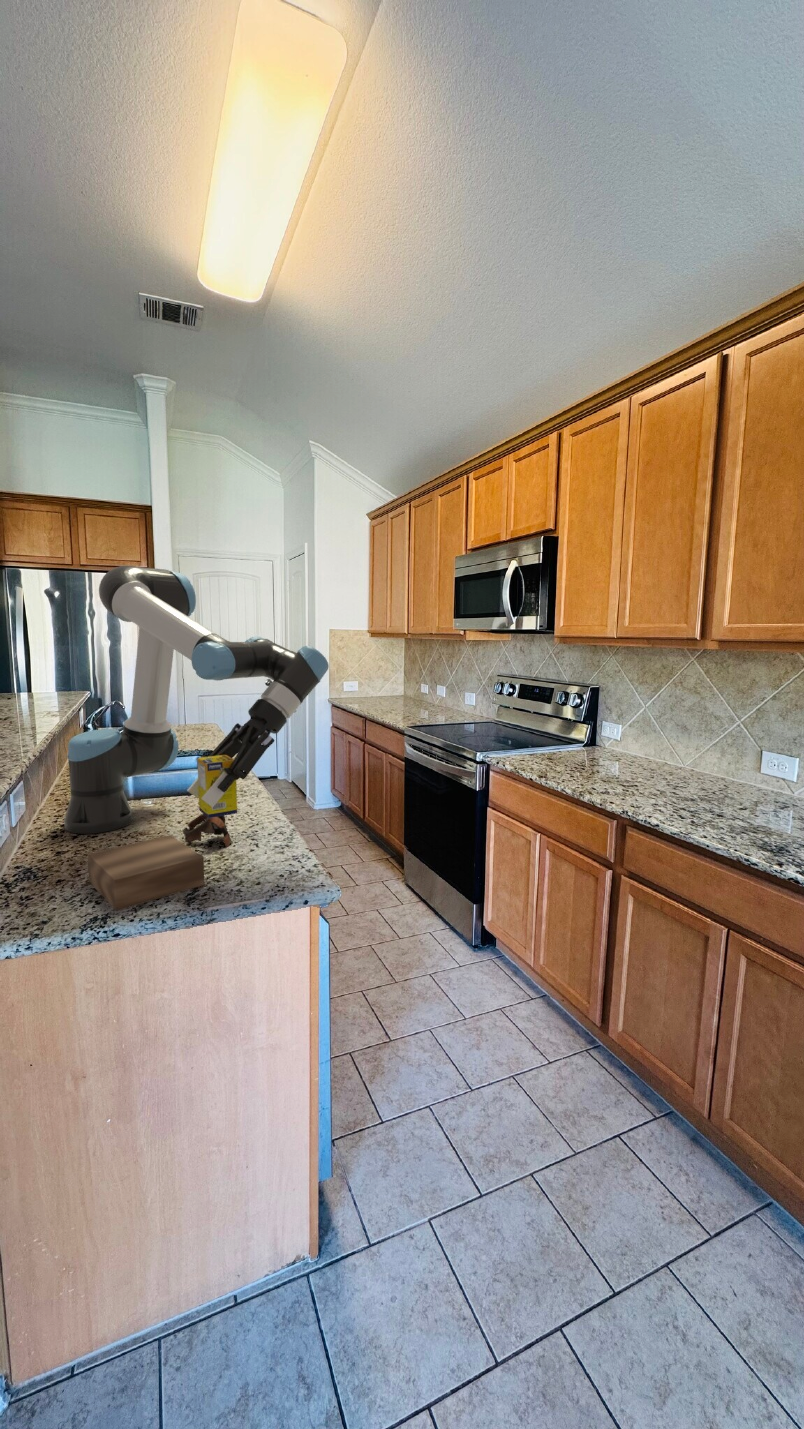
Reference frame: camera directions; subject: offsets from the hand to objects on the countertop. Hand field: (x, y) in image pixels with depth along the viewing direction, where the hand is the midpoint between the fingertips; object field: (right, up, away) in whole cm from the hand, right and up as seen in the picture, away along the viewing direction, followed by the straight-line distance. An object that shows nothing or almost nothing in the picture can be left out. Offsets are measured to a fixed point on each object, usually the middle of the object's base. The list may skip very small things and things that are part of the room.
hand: (199, 798), depth 111 cm
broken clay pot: (-5, -14, +22) cm, 26 cm away
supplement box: (+3, -3, +3) cm, 5 cm away
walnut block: (-10, -17, 0) cm, 20 cm away
